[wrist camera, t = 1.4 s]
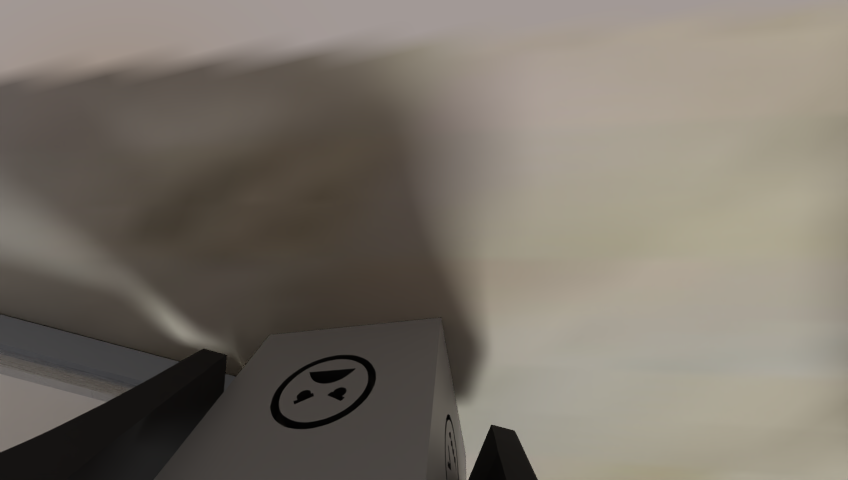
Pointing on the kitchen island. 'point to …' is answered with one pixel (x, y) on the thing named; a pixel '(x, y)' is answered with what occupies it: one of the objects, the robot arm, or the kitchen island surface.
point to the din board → (75, 361)
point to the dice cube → (334, 410)
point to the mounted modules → (35, 409)
